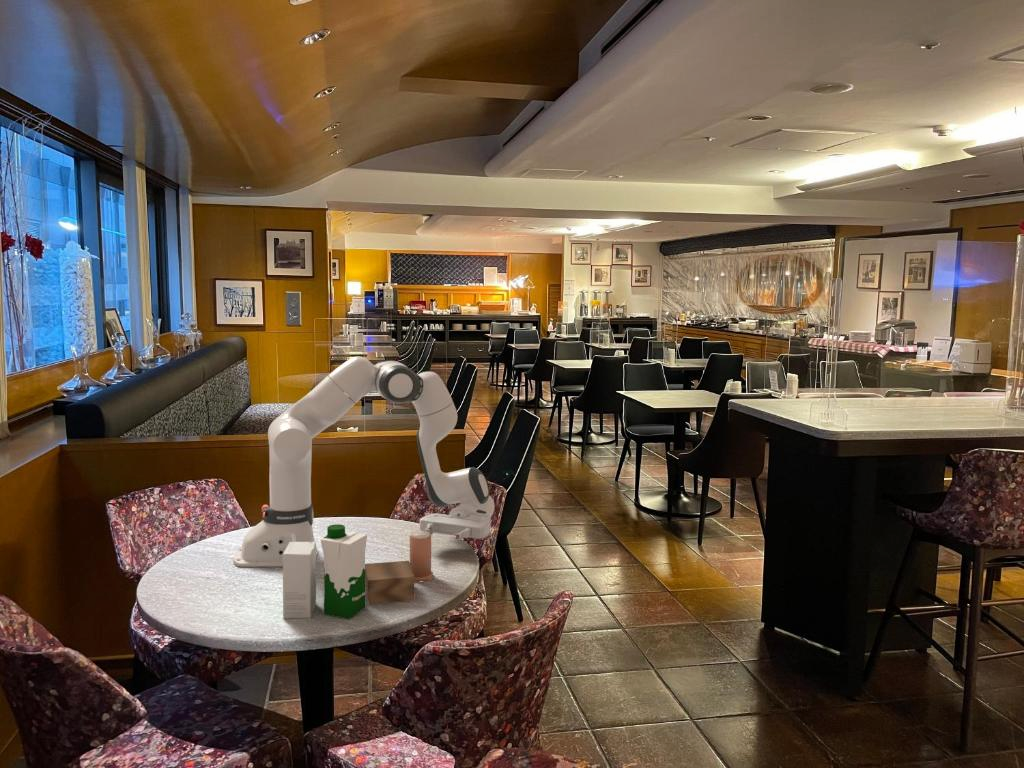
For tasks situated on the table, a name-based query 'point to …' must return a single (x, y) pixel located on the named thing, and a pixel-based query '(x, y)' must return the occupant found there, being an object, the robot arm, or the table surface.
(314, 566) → the skincare box
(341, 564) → the milk carton
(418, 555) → the canister
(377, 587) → the block
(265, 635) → the table surface
